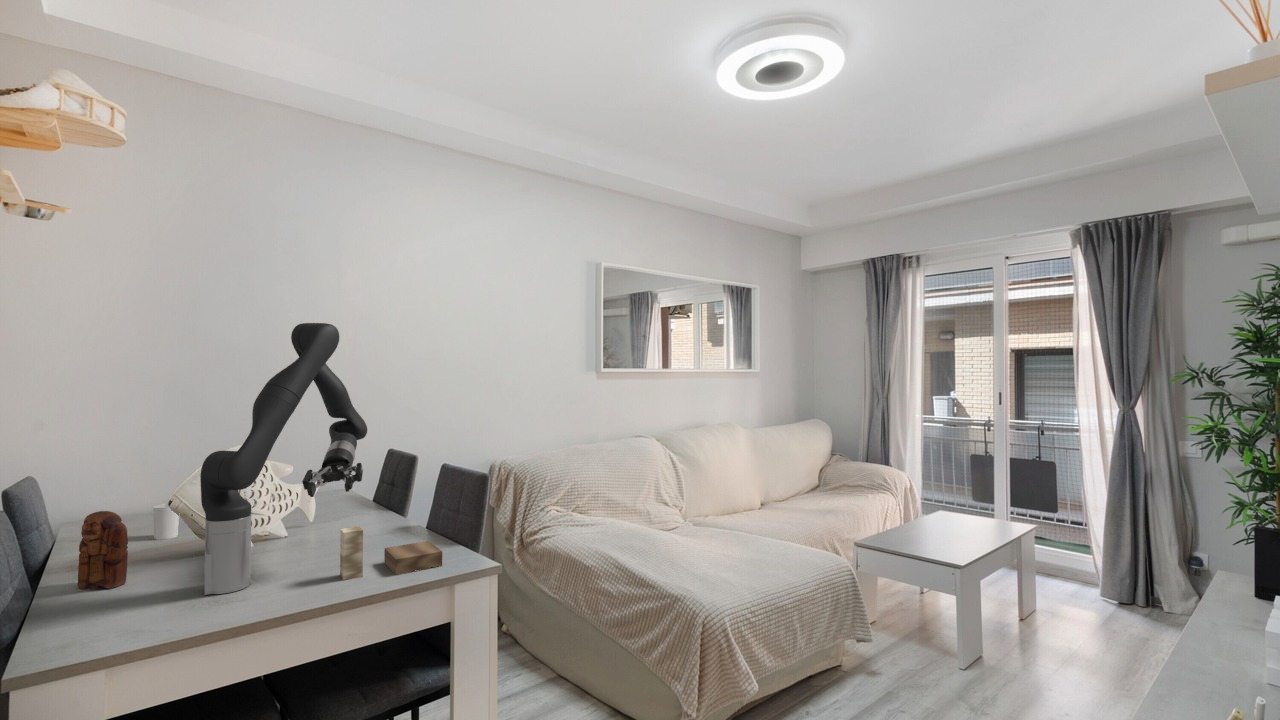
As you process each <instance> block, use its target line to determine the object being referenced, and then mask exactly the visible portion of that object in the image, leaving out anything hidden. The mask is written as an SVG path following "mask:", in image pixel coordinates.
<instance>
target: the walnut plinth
mask: <svg viewBox="0 0 1280 720" xmlns="http://www.w3.org/2000/svg"><path fill="white" fill-rule="evenodd" d="M384 564H385V565H386V566H387V567H388V569H390V570H391V571H392V572H393V574H394V575H395V576H397V575H404V574H408V573H407V572H409V573H412V572H411V571H414V572H416V571H415V570H419V571H421V570H420V569H424V570H427V569H426V568H429V569H432V568H431V567H435V568H438V567H437V566H440V567H443V551H442V549H440V548H439V547H438V546H436V545H435V544H433V543H432V541H429V540H427V541H426V540H425V541H424V540H423V541H420V542H419V541H418V542H414V543H413V542H412V543H407V544H406V543H405V544H400V545H397V546H395V545H394V546H390V547H384ZM403 573H404V574H403Z"/></svg>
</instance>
